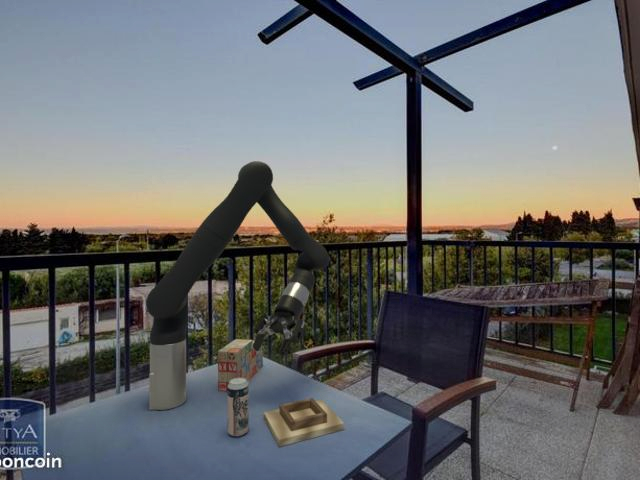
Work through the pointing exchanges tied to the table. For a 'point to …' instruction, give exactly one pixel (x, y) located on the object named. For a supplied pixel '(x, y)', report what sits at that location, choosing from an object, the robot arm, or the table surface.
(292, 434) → the base board
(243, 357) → the stack of blocks
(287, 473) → the table surface
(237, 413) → the beer can
